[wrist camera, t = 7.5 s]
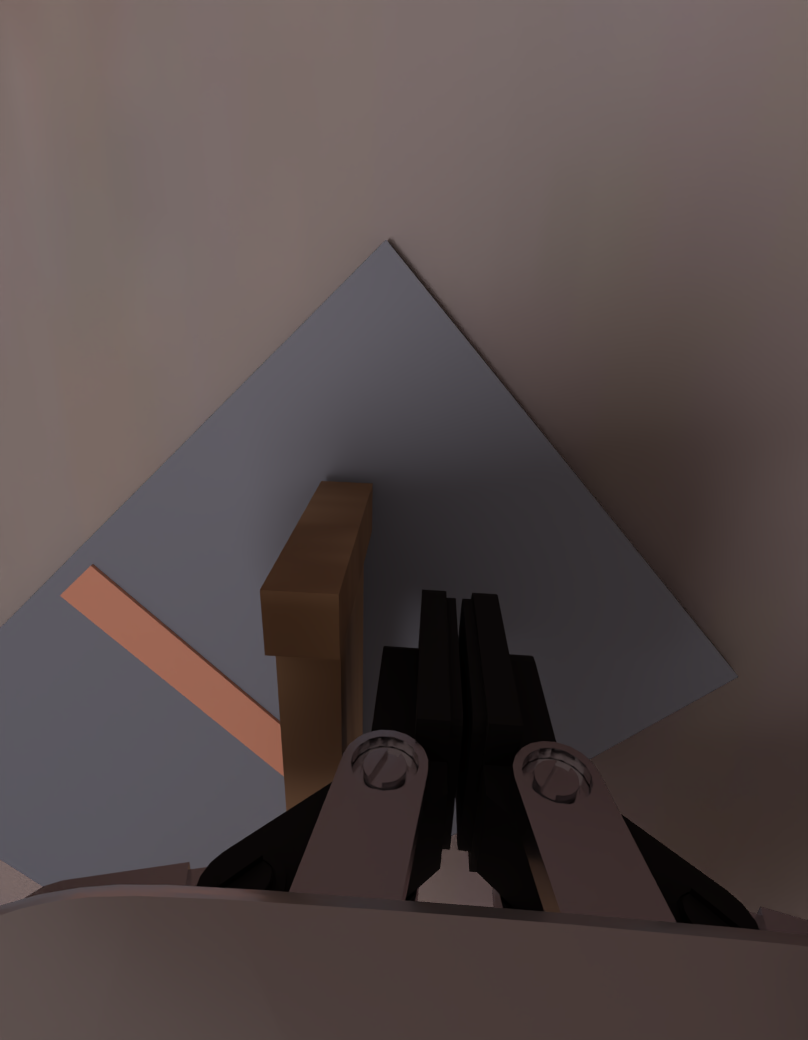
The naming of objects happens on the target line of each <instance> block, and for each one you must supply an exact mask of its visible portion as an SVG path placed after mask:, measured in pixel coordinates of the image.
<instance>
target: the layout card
mask: <svg viewBox="0 0 808 1040" xmlns="http://www.w3.org/2000/svg"><path fill="white" fill-rule="evenodd" d="M321 481H333V482H353V483H373V497H372V533H371V537H370V541H369V545H368V549H367V553H366V557H365V561H364V586H363V734H366V733H368V732H371V730H372V723H373V716H374V709H375V702H376V695H377V688H378V681H379V674H380V667H381V659H382V652H383V647H384V646H393V647H408V648H418V645H419V629H420V613H421V597H422V589H423V590H439V591H446V593H447V598H456V610H457V626H458V635H459V624H460V614H461V604H462V599H471V595H472V593H487V594H497V595H498V599H499V604H500V609H501V614H502V619H503V624H504V629H505V634H506V639H507V644H508V650H509V654H515V655H530V656H533V657H534V660H535V662H536V666H537V670H538V674H539V678H540V681H541V685H542V689H543V693H544V697H545V701H546V704H547V708H548V712H549V716H550V720H551V724H552V727H553V731H554V735H555V739H556V742H557V743H561V744H564V745H567V746H570V747H572V748H574V749H575V750H577V751H579V752H581V753H582V754H583V755H585V756H586V757H587V758H588V759H591V758H593V757H595V756H597V755H598V754H600V753H602V752H604V751H606V750H607V749H609V748H611V747H613V746H615V745H616V744H618V743H620V742H622V741H624V740H625V739H627V738H629V737H631V736H633V735H634V734H636V733H638V732H640V731H642V730H643V729H645V728H647V727H649V726H651V725H652V724H654V723H656V722H658V721H660V720H662V719H663V718H665V717H667V716H669V715H671V714H672V713H674V712H676V711H678V710H680V709H681V708H683V707H685V706H687V705H689V704H690V703H692V702H694V701H696V700H698V699H699V698H701V697H703V696H705V695H707V694H708V693H710V692H712V691H714V690H716V689H717V688H719V687H721V686H723V685H725V684H726V683H728V682H730V681H732V680H734V679H735V678H737V677H738V676H737V674H736V673H735V672H734V670H733V669H732V668H731V667H730V665H729V664H728V663H727V662H726V660H725V659H724V658H723V657H722V655H721V654H720V653H719V652H718V650H717V649H716V648H715V647H714V645H713V644H712V643H711V642H710V641H709V639H708V638H707V637H706V636H705V634H704V633H703V632H702V631H701V629H700V628H699V627H698V626H697V624H696V623H695V622H694V621H693V619H692V618H691V617H690V616H689V614H688V613H687V612H686V611H685V610H684V608H683V607H682V606H681V605H680V603H679V602H678V601H677V600H676V598H675V597H674V596H673V595H672V593H671V592H670V591H669V590H668V588H667V587H666V586H665V585H664V583H663V582H662V581H661V580H660V578H659V577H658V576H657V575H656V574H655V572H654V571H653V570H652V569H651V567H650V566H649V565H648V564H647V562H646V561H645V560H644V559H643V557H642V556H641V555H640V554H639V552H638V551H637V550H636V549H635V547H634V546H633V545H632V544H631V542H630V541H629V540H628V539H627V538H626V536H625V535H624V534H623V533H622V531H621V530H620V529H619V528H618V526H617V525H616V524H615V523H614V521H613V520H612V519H611V518H610V516H609V515H608V514H607V513H606V511H605V510H604V509H603V508H602V506H601V505H600V504H599V503H598V502H597V500H596V499H595V498H594V497H593V495H592V494H591V493H590V492H589V490H588V489H587V488H586V487H585V485H584V484H583V483H582V482H581V480H580V479H579V478H578V477H577V475H576V474H575V473H574V472H573V471H572V469H571V468H570V467H569V466H568V464H567V463H566V462H565V461H564V459H563V458H562V457H561V456H560V454H559V453H558V452H557V451H556V449H555V448H554V447H553V446H552V444H551V443H550V442H549V441H548V439H547V438H546V437H545V436H544V435H543V433H542V432H541V431H540V430H539V428H538V427H537V426H536V425H535V423H534V422H533V421H532V420H531V418H530V417H529V416H528V415H527V413H526V412H525V411H524V410H523V408H522V407H521V406H520V405H519V403H518V402H517V401H516V400H515V399H514V397H513V396H512V395H511V394H510V392H509V391H508V390H507V389H506V387H505V386H504V385H503V384H502V382H501V381H500V380H499V379H498V377H497V376H496V375H495V374H494V372H493V371H492V370H491V369H490V367H489V366H488V365H487V364H486V363H485V361H484V360H483V359H482V358H481V356H480V355H479V354H478V353H477V351H476V350H475V349H474V348H473V346H472V345H471V344H470V343H469V341H468V340H467V339H466V338H465V336H464V335H463V334H462V333H461V332H460V330H459V329H458V328H457V327H456V325H455V324H454V323H453V322H452V320H451V319H450V318H449V317H448V315H447V314H446V313H445V312H444V310H443V309H442V308H441V307H440V305H439V304H438V303H437V302H436V300H435V299H434V298H433V297H432V296H431V294H430V293H429V292H428V291H427V289H426V288H425V287H424V286H423V284H422V283H421V282H420V281H419V279H418V278H417V277H416V276H415V274H414V273H413V272H412V271H411V269H410V268H409V267H408V266H407V264H406V263H405V262H404V261H403V260H402V258H401V257H400V256H399V255H398V253H397V252H396V251H395V250H394V248H393V247H392V246H391V245H390V243H389V242H388V241H387V240H385V241H384V242H383V243H382V244H381V245H380V246H379V247H378V248H377V249H376V250H375V251H374V252H373V253H372V254H371V255H370V256H369V257H368V258H367V259H366V260H365V261H364V262H363V263H362V264H361V265H360V266H359V267H358V268H357V269H356V270H355V271H354V272H353V273H352V274H351V275H350V276H349V277H348V278H347V279H346V280H345V281H344V282H343V283H342V284H341V285H340V286H339V287H338V288H337V289H336V290H335V291H334V293H333V294H332V295H331V296H330V297H329V298H328V299H327V300H326V301H325V302H324V303H323V304H322V305H321V306H320V307H319V308H318V309H317V310H316V311H315V312H314V313H313V314H312V315H311V316H310V317H309V318H308V319H307V320H306V321H305V322H304V323H303V324H302V325H301V326H300V327H299V328H298V329H297V330H296V331H295V332H294V333H293V334H292V335H291V336H290V337H289V338H288V339H287V340H286V341H285V342H284V343H283V344H282V345H281V346H280V347H279V348H278V349H277V350H276V351H275V352H274V353H273V354H272V355H271V356H270V357H269V358H268V359H267V360H266V361H265V362H264V363H263V364H262V365H261V366H260V367H259V368H258V369H257V370H256V371H255V372H254V373H253V374H252V375H251V376H250V377H249V378H248V379H247V380H246V381H245V382H244V383H243V384H242V385H241V386H240V387H239V388H238V389H237V390H236V391H235V392H234V393H233V394H232V395H231V396H230V397H229V398H228V399H227V400H226V401H225V402H224V403H223V404H222V405H221V406H220V407H219V408H218V409H217V410H216V411H215V412H214V413H213V414H212V415H211V416H210V417H209V418H208V419H207V420H206V421H205V422H204V423H203V424H202V425H201V426H200V427H199V428H198V429H197V430H196V431H195V432H194V433H193V434H192V435H191V436H190V437H189V438H188V439H187V440H186V441H185V442H184V443H183V445H182V446H181V447H180V448H179V449H178V450H177V451H176V452H175V453H174V454H173V455H172V456H171V457H170V458H169V459H168V460H167V461H166V462H165V463H164V464H163V465H162V466H161V467H160V468H159V469H158V470H157V471H156V472H155V473H154V474H153V475H152V476H151V477H150V478H149V479H148V480H147V481H146V482H145V483H144V484H143V485H142V486H141V487H140V488H139V489H138V490H137V491H136V492H135V493H134V494H133V495H132V496H131V497H130V498H129V499H128V500H127V501H126V502H125V503H124V504H123V505H122V506H121V507H120V508H119V509H118V510H117V511H116V512H115V513H114V514H113V515H112V516H111V517H110V518H109V519H108V520H107V521H106V522H105V523H104V524H103V525H102V526H101V527H100V528H99V529H98V530H97V531H96V532H95V533H94V534H93V535H92V536H91V537H90V538H89V539H88V540H87V541H86V542H85V543H84V544H83V545H82V546H81V547H80V548H79V549H78V550H77V551H76V552H75V553H74V554H73V555H72V556H71V557H70V558H69V559H68V560H67V561H66V562H65V563H64V564H63V565H62V566H61V567H60V568H59V569H58V570H57V571H56V572H55V573H54V574H53V575H52V576H51V577H50V578H49V579H48V580H47V581H46V582H45V583H44V584H43V585H42V586H41V587H40V588H39V589H38V590H37V591H36V592H35V593H34V594H33V595H32V597H31V598H30V599H29V600H28V601H27V602H26V603H25V604H24V605H23V606H22V607H21V608H20V609H19V610H18V611H17V612H16V613H15V614H14V615H13V616H12V617H11V618H10V619H9V620H8V621H7V622H6V623H5V624H4V625H3V626H2V627H1V628H0V860H2V861H4V862H5V863H7V864H8V865H10V866H11V867H13V868H15V869H16V870H18V871H19V872H21V873H22V874H24V875H26V876H27V877H29V878H30V879H32V880H33V881H35V882H37V883H38V884H40V885H41V886H46V885H49V884H52V883H56V882H59V881H62V880H68V879H75V878H82V877H89V876H96V875H103V874H109V873H116V872H123V871H130V870H137V869H144V868H151V867H157V866H164V865H171V864H178V863H185V862H189V863H190V869H196V868H203V867H207V866H208V865H209V864H210V862H211V861H213V860H214V859H215V858H216V857H218V856H219V855H220V854H221V853H222V852H224V851H225V850H227V849H228V848H230V847H231V846H233V845H235V844H236V843H238V842H239V841H241V840H242V839H244V838H245V837H247V836H249V835H250V834H252V833H253V832H255V831H256V830H258V829H259V828H261V827H263V826H264V825H266V824H267V823H269V822H270V821H272V820H273V819H275V818H276V817H278V816H280V815H281V814H283V813H284V812H286V800H285V785H284V771H283V756H282V742H281V728H280V713H279V699H278V684H277V670H276V656H266V655H265V652H264V639H263V626H262V613H261V601H260V589H261V587H262V585H263V583H264V582H265V580H266V578H267V576H268V574H269V573H270V571H271V569H272V567H273V566H274V564H275V562H276V560H277V558H278V557H279V555H280V553H281V551H282V550H283V548H284V546H285V544H286V543H287V541H288V539H289V537H290V535H291V534H292V532H293V530H294V528H295V527H296V525H297V523H298V521H299V520H300V518H301V516H302V514H303V512H304V511H305V509H306V507H307V505H308V504H309V502H310V500H311V498H312V496H313V495H314V493H315V491H316V489H317V488H318V486H319V484H320V482H321ZM456 833H457V824H456V798H455V806H454V816H453V825H452V834H451V836H452V835H454V834H456Z"/></svg>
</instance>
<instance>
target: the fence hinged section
mask: <svg viewBox="0 0 808 1040" xmlns="http://www.w3.org/2000/svg"><path fill="white" fill-rule="evenodd" d="M372 497H373V483H353V482H333V481H321V482H320V484H319V486H318V488H317V489H316V491H315V493H314V495H313V496H312V498H311V500H310V502H309V504H308V505H307V507H306V509H305V511H304V512H303V514H302V516H301V518H300V520H299V521H298V523H297V525H296V527H295V528H294V530H293V532H292V534H291V535H290V537H289V539H288V541H287V543H286V544H285V546H284V548H283V550H282V551H281V553H280V555H279V557H278V558H277V560H276V562H275V564H274V566H273V567H272V569H271V571H270V573H269V574H268V576H267V578H266V580H265V582H264V583H263V585H262V587H261V589H260V601H261V613H262V626H263V639H264V652H265V655H266V656H276V670H277V684H278V699H279V713H280V728H281V742H282V756H283V771H284V785H285V800H286V811H287V810H289V809H290V808H292V807H294V806H295V805H297V804H298V803H300V802H301V801H303V800H304V799H306V798H308V797H309V796H311V795H312V794H314V793H315V792H317V791H318V790H320V789H322V788H323V787H325V786H326V785H328V784H329V783H331V782H332V781H333V778H334V776H335V773H336V771H337V768H338V766H339V763H340V761H341V758H342V756H343V753H344V752H345V750H346V748H347V747H348V745H349V744H350V743H351V742H352V741H354V740H355V739H356V738H357V737H359V736H361V735H363V586H364V561H365V557H366V553H367V549H368V545H369V541H370V537H371V533H372Z"/></svg>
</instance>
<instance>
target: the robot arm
mask: <svg viewBox="0 0 808 1040" xmlns="http://www.w3.org/2000/svg"><path fill="white" fill-rule="evenodd" d="M455 798H456V824H457V847H458V850H462V851H468V854H469V871H470V872H478V873H479V874H480V875H481V876H482V877H483V878H484V879H485V880H486V881H487V882H488V883H489V884H490V885H491V886H492V887H493V892H492V895H493V906H494V907H481V906H469V905H456V904H443V903H430V902H418V890H419V887H420V886H421V885H422V884H423V883H424V882H425V881H427V880H428V879H429V878H430V877H431V876H432V875H433V874H434V873H435V872H437V871H438V870H439V869H440V864H441V854H442V849H448V850H449V849H450V843H451V834H452V825H453V816H454V806H455ZM0 1040H808V920H805V919H801V918H798V917H795V916H791V915H788V914H784V913H781V912H777V911H774V910H770V909H767V908H764V907H760V908H759V911H758V913H757V914H756V913H752V912H749V911H748V910H747V909H746V908H745V907H744V905H743V904H742V903H741V902H739V901H738V900H737V899H736V898H735V897H734V896H733V895H731V894H730V893H729V892H728V891H727V890H725V889H724V888H723V887H721V886H720V885H719V884H717V883H716V882H714V881H713V880H712V879H710V878H709V877H707V876H706V875H705V874H703V873H702V872H701V871H699V870H698V869H696V868H695V867H694V866H692V865H691V864H689V863H688V862H687V861H685V860H684V859H683V858H681V857H680V856H678V855H677V854H676V853H674V852H673V851H671V850H670V849H669V848H667V847H666V846H665V845H663V844H662V843H660V842H659V841H658V840H656V839H655V838H653V837H652V836H651V835H649V834H648V833H647V832H645V831H644V830H642V829H641V828H640V827H638V826H637V825H635V824H634V823H633V822H631V821H630V820H629V819H627V818H626V817H624V816H623V815H622V814H621V813H620V812H619V810H618V808H617V806H616V804H615V802H614V800H613V798H612V796H611V794H610V792H609V790H608V788H607V786H606V784H605V782H604V780H603V779H602V777H601V775H600V773H599V771H598V770H597V768H596V767H595V766H594V764H593V763H592V761H590V760H589V759H588V758H587V757H586V756H585V755H583V754H582V753H581V752H579V751H577V750H575V749H574V748H572V747H570V746H567V745H564V744H561V743H557V742H556V739H555V735H554V731H553V727H552V724H551V720H550V716H549V712H548V708H547V704H546V701H545V697H544V693H543V689H542V685H541V681H540V678H539V674H538V670H537V666H536V662H535V660H534V657H533V656H530V655H515V654H509V650H508V644H507V639H506V634H505V629H504V624H503V619H502V614H501V609H500V604H499V599H498V595H497V594H487V593H472V595H471V599H462V604H461V614H460V624H459V635H458V626H457V610H456V598H447V593H446V591H439V590H423V589H422V597H421V613H420V629H419V645H418V648H408V647H393V646H384V647H383V652H382V659H381V667H380V674H379V681H378V688H377V695H376V702H375V709H374V716H373V723H372V730H371V732H368V733H366V734H363V735H361V736H359V737H357V738H356V739H355V740H354V741H352V742H351V743H350V744H349V745H348V747H347V748H346V750H345V752H344V753H343V756H342V758H341V761H340V763H339V766H338V768H337V771H336V773H335V776H334V778H333V781H332V782H331V783H329V784H328V785H326V786H325V787H323V788H322V789H320V790H318V791H317V792H315V793H314V794H312V795H311V796H309V797H308V798H306V799H304V800H303V801H301V802H300V803H298V804H297V805H295V806H294V807H292V808H290V809H289V810H287V811H286V812H284V813H283V814H281V815H280V816H278V817H276V818H275V819H273V820H272V821H270V822H269V823H267V824H266V825H264V826H263V827H261V828H259V829H258V830H256V831H255V832H253V833H252V834H250V835H249V836H247V837H245V838H244V839H242V840H241V841H239V842H238V843H236V844H235V845H233V846H231V847H230V848H228V849H227V850H225V851H224V852H222V853H221V854H220V855H219V856H218V857H216V858H215V859H214V860H213V861H211V862H210V864H209V865H208V866H207V867H203V868H196V869H190V863H189V862H185V863H178V864H171V865H164V866H157V867H151V868H144V869H137V870H130V871H123V872H116V873H109V874H103V875H96V876H89V877H82V878H75V879H68V880H62V881H59V882H56V883H52V884H49V885H46V886H43V887H42V888H40V889H38V890H37V891H35V892H33V893H32V894H30V895H28V896H27V897H25V898H24V899H21V900H18V901H14V902H11V903H8V904H4V905H1V906H0Z"/></svg>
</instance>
